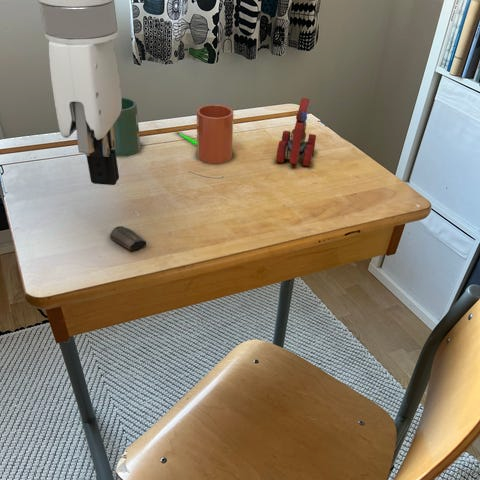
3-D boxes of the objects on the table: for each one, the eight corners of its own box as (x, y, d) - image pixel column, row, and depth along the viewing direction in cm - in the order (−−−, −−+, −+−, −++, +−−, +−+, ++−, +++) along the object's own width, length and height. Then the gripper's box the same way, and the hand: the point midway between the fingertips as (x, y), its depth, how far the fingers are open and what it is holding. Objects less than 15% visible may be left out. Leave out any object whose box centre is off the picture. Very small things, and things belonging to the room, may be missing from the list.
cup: (195, 162, 102) (194, 116, 96) (200, 147, 107) (199, 103, 101) (229, 164, 102) (231, 119, 96) (233, 149, 107) (234, 106, 101)
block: (130, 255, 78) (129, 245, 77) (107, 238, 81) (106, 228, 80) (149, 246, 80) (148, 236, 79) (126, 230, 83) (125, 220, 82)
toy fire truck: (273, 169, 101) (278, 116, 94) (283, 143, 110) (288, 93, 103) (308, 173, 101) (316, 121, 93) (315, 147, 110) (322, 97, 102)
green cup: (101, 154, 103) (94, 109, 97) (111, 140, 108) (105, 96, 102) (135, 157, 103) (131, 112, 97) (143, 142, 108) (139, 98, 102)
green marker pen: (178, 133, 113) (178, 130, 112) (219, 156, 105) (219, 153, 105) (175, 134, 112) (175, 131, 112) (215, 158, 105) (215, 154, 104)
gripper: (68, 3, 59) (94, 154, 72) (15, 36, 48) (56, 209, 61) (132, 6, 59) (147, 158, 71) (93, 41, 48) (118, 213, 60)
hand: (105, 181), depth 66 cm, fingers closed
